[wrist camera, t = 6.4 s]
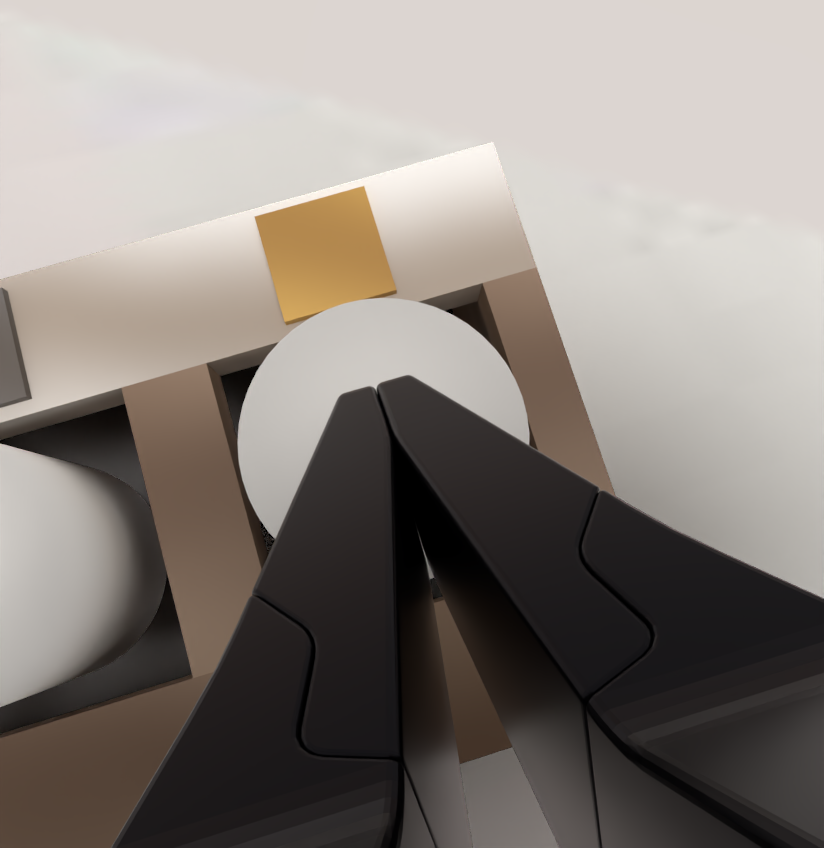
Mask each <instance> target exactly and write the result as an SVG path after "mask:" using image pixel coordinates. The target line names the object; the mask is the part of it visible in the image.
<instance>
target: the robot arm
mask: <svg viewBox="0 0 824 848" xmlns="http://www.w3.org/2000/svg"><path fill="white" fill-rule="evenodd" d="M376 389H377V391H376ZM376 389H375V388H374V387H371V386H367V387H363V388H360V389H356V390H353V391H349V392H346V393H343V394H341V395H340V396H339V397H338V399H337V401H336V403H335V406H334V408H333V410H332V412H331V415H330V417H329V419H328V421H327V424H326V426H325V428H324V430H323V433H322V435H321V437H320V439H319V442H318V444H317V446H316V448H315V451H314V453H313V455H312V457H311V460H310V462H309V464H308V466H307V469H306V471H305V473H304V475H303V478H302V480H301V482H300V484H299V487H298V489H297V491H296V493H295V496H294V498H293V500H292V502H291V505H290V507H289V509H288V511H287V514H286V516H285V518H284V520H283V523H282V525H281V527H280V529H279V532H278V534H277V536H276V538H275V541H274V543H273V545H272V547H271V550H270V552H269V554H268V556H267V559H266V561H265V563H264V565H263V568H262V570H261V572H260V574H259V577H258V579H257V581H256V583H255V586H254V588H253V590H252V596H250V597H249V598H248V600H247V603H246V605H245V607H244V610H243V612H242V614H241V616H240V619H239V621H238V623H237V625H236V627H235V629H234V631H233V634H232V636H231V638H230V640H229V642H228V644H227V646H226V648H225V650H224V652H223V654H222V656H221V658H220V660H219V662H218V664H217V667H216V669H215V670H214V672H213V674H212V676H211V677H210V679H209V681H208V683H207V685H206V686H205V688H204V690H203V692H202V694H201V695H200V697H199V699H198V701H197V702H196V704H195V706H194V708H193V710H192V711H191V713H190V715H189V717H188V719H187V720H186V722H185V724H184V725H183V727H182V729H181V730H180V732H179V734H178V735H177V737H176V739H175V740H174V742H173V744H172V745H171V747H170V749H169V751H168V752H167V754H166V756H165V757H164V759H163V761H162V762H161V764H160V766H159V767H158V769H157V771H156V772H155V774H154V776H153V777H152V779H151V781H150V782H149V784H148V786H147V787H146V789H145V791H144V793H143V794H142V796H141V798H140V799H139V801H138V803H137V804H136V806H135V808H134V809H133V811H132V813H131V814H130V816H129V818H128V819H127V821H126V823H125V824H124V826H123V828H122V829H121V831H120V833H119V835H118V836H117V838H116V840H115V841H114V843H113V845H112V846H111V848H473V844H472V838H471V832H470V825H469V819H468V813H467V807H466V800H465V794H464V788H463V782H462V775H461V769H460V763H459V757H458V751H457V744H456V738H455V732H454V726H453V719H452V713H451V707H450V701H449V695H448V688H447V682H446V676H445V670H444V663H443V657H442V651H441V645H440V639H439V632H438V626H437V620H436V614H435V607H434V601H433V595H432V589H431V583H430V578H429V572H428V567H427V563H426V559H425V556H424V552H425V555H426V558H427V561H428V564H429V566H430V569H431V571H432V573H433V576H434V578H435V580H436V583H437V585H438V587H439V589H440V591H441V594H442V596H443V598H444V600H445V602H446V604H447V606H448V609H449V611H450V613H451V615H452V617H453V619H454V622H455V624H456V626H457V628H458V630H459V632H460V634H461V637H462V639H463V641H464V643H465V645H466V647H467V650H468V652H469V654H470V656H471V658H472V660H473V662H474V665H475V667H476V669H477V671H478V673H479V675H480V678H481V680H482V682H483V684H484V686H485V688H486V690H487V693H488V695H489V697H490V699H491V701H492V703H493V706H494V708H495V710H496V712H497V714H498V716H499V718H500V721H501V723H502V725H503V727H504V729H505V731H506V734H507V736H508V738H509V740H510V742H511V744H512V746H513V749H514V751H515V753H516V755H517V757H518V759H519V762H520V764H521V766H522V768H523V770H524V772H525V774H526V777H527V779H528V781H529V783H530V785H531V787H532V790H533V792H534V794H535V796H536V798H537V800H538V802H539V805H540V807H541V809H542V811H543V813H544V815H545V818H546V820H547V822H548V824H549V826H550V828H551V830H552V833H553V835H554V837H555V839H556V841H557V843H558V846H559V848H824V598H822V597H819V596H817V595H815V594H813V593H811V592H808V591H806V590H804V589H802V588H800V587H797V586H795V585H793V584H791V583H789V582H786V581H784V580H782V579H780V578H778V577H775V576H773V575H771V574H769V573H766V572H764V571H762V570H760V569H758V568H755V567H753V566H751V565H749V564H747V563H744V562H742V561H740V560H738V559H736V558H733V557H731V556H729V555H727V554H725V553H722V552H720V551H718V550H716V549H714V548H712V547H710V546H708V545H706V544H704V543H702V542H700V541H698V540H696V539H693V538H691V537H689V536H687V535H685V534H683V533H681V532H679V531H677V530H675V529H673V528H671V527H669V526H667V525H666V524H664V523H662V522H660V521H658V520H656V519H655V518H653V517H651V516H649V515H647V514H646V513H644V512H642V511H640V510H638V509H637V508H635V507H633V506H631V505H629V504H628V503H626V502H624V501H623V500H621V499H619V498H618V497H616V496H614V495H613V494H611V493H609V492H608V491H606V490H601V491H600V488H599V487H598V486H597V485H595V484H593V483H592V482H590V481H588V480H587V479H585V478H583V477H582V476H580V475H578V474H577V473H575V472H573V471H572V470H570V469H568V468H567V467H565V466H563V465H562V464H560V463H558V462H556V461H555V460H553V459H551V458H550V457H548V456H546V455H545V454H543V453H541V452H540V451H538V450H536V449H535V448H533V447H531V446H530V445H528V444H526V443H525V442H523V441H521V440H519V439H518V438H516V437H514V436H513V435H511V434H509V433H508V432H506V431H504V430H503V429H501V428H499V427H498V426H496V425H494V424H493V423H491V422H489V421H488V420H486V419H484V418H482V417H481V416H479V415H477V414H476V413H474V412H472V411H471V410H469V409H467V408H466V407H464V406H462V405H461V404H459V403H457V402H456V401H454V400H452V399H451V398H449V397H447V396H445V395H444V394H442V393H440V392H439V391H437V390H435V389H434V388H432V387H430V386H429V385H427V384H425V383H424V382H422V381H420V380H419V379H417V378H415V377H414V376H411V375H404V376H401V377H397V378H394V379H391V380H387V381H384V382H381V383H379V384H378V385H377V388H376ZM418 533H419V534H418ZM420 540H421V541H420ZM421 543H422V544H421ZM422 546H423V548H422ZM423 549H424V552H423Z"/></svg>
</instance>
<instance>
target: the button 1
mask: <svg viewBox="0 0 824 848" xmlns="http://www.w3.org/2000/svg"><path fill="white" fill-rule="evenodd" d="M404 375H411V376H414V377H415V378H417V379H419V380H420V381H422V382H424V383H425V384H427V385H429V386H430V387H432V388H434V389H435V390H437V391H439V392H440V393H442V394H444V395H445V396H447V397H449V398H451V399H452V400H454V401H456V402H457V403H459V404H461V405H462V406H464V407H466V408H467V409H469V410H471V411H472V412H474V413H476V414H477V415H479V416H481V417H482V418H484V419H486V420H488V421H489V422H491V423H493V424H494V425H496V426H498V427H499V428H501V429H503V430H504V431H506V432H508V433H509V434H511V435H513V436H514V437H516V438H518V439H519V440H521V441H523V442H525V443H526V444H528V445H529V426H528V418H527V413H526V409H525V405H524V401H523V397H522V395H521V392H520V390H519V387H518V385H517V382H516V380H515V378H514V376H513V374H512V373H511V371H510V369H509V367H508V366H507V364H506V362H505V361H504V360H503V358H502V357H501V356H500V354H499V353H498V352H497V350H496V349H495V348H494V347H493V346H492V345H491V344H490V343H489V342H488V341H487V340H486V339H485V338H484V337H483V336H482V335H481V334H480V333H479V332H477V331H476V330H475V329H474V328H472V327H471V326H470V325H469V324H467V323H466V322H464V321H462V320H461V319H459V318H457V317H456V316H454V315H452V314H450V313H448V312H446V311H443V310H441V309H439V308H436V307H434V306H431V305H427V304H424V303H420V302H417V301H411V300H404V299H397V298H374V299H363V300H358V301H353V302H349V303H344V304H341V305H338V306H335V307H333V308H330V309H327V310H325V311H323V312H321V313H319V314H317V315H315V316H313V317H311V318H309V319H308V320H306V321H305V322H303V323H302V324H300V325H299V326H297V327H296V328H294V329H293V330H292V331H291V332H290V333H289V334H287V335H286V336H285V337H284V338H283V339H282V340H281V341H280V342H279V343H278V344H277V345H276V346H275V347H274V348H273V350H272V351H271V352H270V353H269V354H268V355H267V357H266V358H265V360H264V361H263V363H262V364H261V366H260V367H259V369H258V370H257V372H256V374H255V376H254V378H253V380H252V382H251V384H250V386H249V388H248V391H247V394H246V397H245V400H244V403H243V406H242V411H241V416H240V420H239V428H238V459H239V466H240V471H241V476H242V481H243V483H244V486H245V489H246V492H247V495H248V498H249V500H250V502H251V504H252V506H253V508H254V510H255V512H256V514H257V516H258V517H259V519H260V520H261V522H262V523H263V525H264V526H265V528H266V529H267V531H268V532H269V533H270V534H271V535H272V536H273V538H274V539H275V538H276V536H277V534H278V532H279V529H280V527H281V525H282V523H283V520H284V518H285V516H286V514H287V511H288V509H289V507H290V505H291V502H292V500H293V498H294V496H295V493H296V491H297V489H298V487H299V484H300V482H301V480H302V478H303V475H304V473H305V471H306V469H307V466H308V464H309V462H310V460H311V457H312V455H313V453H314V451H315V448H316V446H317V444H318V442H319V439H320V437H321V435H322V433H323V430H324V428H325V426H326V424H327V421H328V419H329V417H330V415H331V412H332V410H333V408H334V406H335V403H336V401H337V399H338V397H339V396H340V395H341V394H343V393H346V392H349V391H353V390H356V389H360V388H363V387H367V386H371V387H374V388H375V389H376V388H377V385H378V384H379V383H381V382H384V381H387V380H391V379H394V378H397V377H401V376H404ZM376 391H377V389H376ZM418 534H419V533H418ZM420 541H421V540H420ZM421 544H422V543H421ZM422 548H423V546H422ZM423 552H424V549H423ZM424 556H425V559H426V563H427V567H428V572H429V578H430V579H431V578H434V576H433V573H432V571H431V569H430V566H429V564H428V561H427V558H426V555H425V552H424Z"/></svg>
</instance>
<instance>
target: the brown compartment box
mask: <svg viewBox="0 0 824 848" xmlns="http://www.w3.org/2000/svg"><path fill="white" fill-rule="evenodd" d="M374 298H397V299H404V300H411V301H417V302H420V303H424V304H427V305H431V306H434V307H436V308H439V309H441V310H443V311H446V310H449V309H452V310H453V313H454V316H456V317H457V318H459V319H461V320H462V321H464V322H466V323H467V324H469V325H470V326H471V327H472V328H474V329H475V330H476V331H477V332H479V333H480V334H481V335H482V336H483V337H484V338H485V339H486V340H487V341H488V342H489V343H490V344H491V345H492V346H493V347H494V348H495V349H496V350H497V352H498V353H499V354H500V356H501V357H502V358H503V360H504V361H505V362H506V364H507V366H508V367H509V369H510V371H511V373H512V374H513V376H514V378H515V380H516V382H517V385H518V387H519V390H520V392H521V395H522V397H523V401H524V405H525V409H526V413H527V418H528V426H529V445H530V446H531V447H533V448H535V449H536V450H538V451H540V452H541V453H543V454H545V455H546V456H548V457H550V458H551V459H553V460H555V461H556V462H558V463H560V464H562V465H563V466H565V467H567V468H568V469H570V470H572V471H573V472H575V473H577V474H578V475H580V476H582V477H583V478H585V479H587V480H588V481H590V482H592V483H593V484H595V485H597V486H598V487H599V488H600V491H601V490H606V491H608V492H609V493H611V494H613V495H614V496H615V493H614V490H613V487H612V485H611V482H610V479H609V476H608V473H607V470H606V467H605V464H604V461H603V458H602V456H601V453H600V450H599V447H598V444H597V441H596V438H595V435H594V432H593V429H592V427H591V424H590V421H589V418H588V415H587V412H586V409H585V406H584V403H583V401H582V398H581V395H580V392H579V389H578V386H577V383H576V380H575V377H574V374H573V372H572V369H571V366H570V363H569V360H568V357H567V354H566V351H565V348H564V346H563V343H562V340H561V337H560V334H559V331H558V328H557V325H556V322H555V319H554V317H553V314H552V311H551V308H550V305H549V302H548V299H547V296H546V293H545V290H544V288H543V285H542V282H541V279H540V276H539V273H538V270H537V267H536V264H535V262H534V259H533V256H532V253H531V250H530V247H529V244H528V241H527V238H526V235H525V233H524V230H523V227H522V224H521V221H520V218H519V215H518V212H517V209H516V206H515V204H514V201H513V198H512V195H511V192H510V189H509V186H508V183H507V180H506V178H505V175H504V172H503V169H502V166H501V163H500V160H499V157H498V154H497V151H496V149H495V146H494V143H493V142H490V143H486V144H483V145H479V146H476V147H472V148H468V149H465V150H461V151H458V152H454V153H451V154H447V155H443V156H440V157H436V158H433V159H429V160H426V161H422V162H418V163H415V164H411V165H408V166H404V167H400V168H397V169H393V170H390V171H386V172H383V173H379V174H375V175H372V176H368V177H365V178H361V179H358V180H354V181H350V182H347V183H343V184H340V185H336V186H333V187H329V188H325V189H322V190H318V191H315V192H311V193H308V194H304V195H300V196H297V197H293V198H290V199H286V200H283V201H279V202H275V203H272V204H268V205H265V206H261V207H258V208H254V209H250V210H247V211H243V212H240V213H236V214H233V215H229V216H225V217H222V218H218V219H215V220H211V221H208V222H204V223H200V224H197V225H193V226H190V227H186V228H183V229H179V230H175V231H172V232H168V233H165V234H161V235H158V236H154V237H150V238H147V239H143V240H140V241H136V242H133V243H129V244H125V245H122V246H118V247H115V248H111V249H108V250H104V251H100V252H97V253H93V254H90V255H86V256H83V257H79V258H75V259H72V260H68V261H65V262H61V263H58V264H54V265H50V266H47V267H43V268H40V269H36V270H32V271H29V272H25V273H22V274H18V275H15V276H11V277H7V278H4V279H0V440H2V439H6V438H9V437H13V436H16V435H19V434H23V433H26V432H30V431H33V430H37V429H40V428H44V427H47V426H50V425H54V424H57V423H61V422H64V421H68V420H71V419H74V418H78V417H81V416H85V415H88V414H92V413H95V412H99V411H102V410H105V409H109V408H112V407H116V406H119V405H123V404H125V405H126V409H127V413H128V417H129V421H130V425H131V429H132V433H133V437H134V441H135V445H136V449H137V453H138V457H139V461H140V465H141V470H142V474H143V478H144V482H145V486H146V490H147V494H148V498H149V502H150V506H151V510H152V514H153V518H154V522H155V526H156V530H157V534H158V538H159V542H160V546H161V550H162V554H163V559H164V563H165V567H166V571H167V575H168V579H169V583H170V587H171V591H172V595H173V599H174V603H175V607H176V611H177V615H178V619H179V623H180V627H181V631H182V635H183V639H184V643H185V648H186V652H187V656H188V660H189V664H190V668H191V672H192V674H191V675H188V676H185V677H181V678H178V679H175V680H172V681H169V682H165V683H162V684H159V685H156V686H152V687H149V688H146V689H143V690H140V691H136V692H133V693H130V694H127V695H124V696H120V697H117V698H114V699H111V700H107V701H104V702H101V703H98V704H95V705H91V706H88V707H85V708H82V709H79V710H75V711H72V712H69V713H66V714H62V715H59V716H56V717H53V718H50V719H46V720H43V721H40V722H37V723H34V724H30V725H27V726H24V727H21V728H17V729H14V730H11V731H8V732H5V733H1V734H0V848H111V846H112V845H113V843H114V841H115V840H116V838H117V836H118V835H119V833H120V831H121V829H122V828H123V826H124V824H125V823H126V821H127V819H128V818H129V816H130V814H131V813H132V811H133V809H134V808H135V806H136V804H137V803H138V801H139V799H140V798H141V796H142V794H143V793H144V791H145V789H146V787H147V786H148V784H149V782H150V781H151V779H152V777H153V776H154V774H155V772H156V771H157V769H158V767H159V766H160V764H161V762H162V761H163V759H164V757H165V756H166V754H167V752H168V751H169V749H170V747H171V745H172V744H173V742H174V740H175V739H176V737H177V735H178V734H179V732H180V730H181V729H182V727H183V725H184V724H185V722H186V720H187V719H188V717H189V715H190V713H191V711H192V710H193V708H194V706H195V704H196V702H197V701H198V699H199V697H200V695H201V694H202V692H203V690H204V688H205V686H206V685H207V683H208V681H209V679H210V677H211V676H212V674H213V672H214V670H215V669H216V667H217V664H218V662H219V660H220V658H221V656H222V654H223V652H224V650H225V648H226V646H227V644H228V642H229V640H230V638H231V636H232V634H233V631H234V629H235V627H236V625H237V623H238V621H239V619H240V616H241V614H242V612H243V610H244V607H245V605H246V603H247V600H248V598H249V597H250V596H252V590H253V588H254V586H255V583H256V581H257V579H258V577H259V574H260V572H261V570H262V568H263V565H264V563H265V561H266V559H267V556H268V552H267V548H266V544H265V541H264V537H263V533H262V529H261V526H260V522H259V518H258V516H257V514H256V512H255V510H254V508H253V506H252V504H251V502H250V500H249V498H248V495H247V492H246V489H245V486H244V483H243V481H242V476H241V471H240V466H239V459H238V440H237V437H236V433H235V429H234V425H233V422H232V418H231V414H230V411H229V407H228V403H227V399H226V396H225V392H224V388H223V385H222V381H221V377H220V376H222V375H226V374H229V373H233V372H236V371H239V370H243V369H246V368H250V367H253V366H257V365H260V364H262V363H263V361H264V360H265V358H266V357H267V355H268V354H269V353H270V352H271V351H272V350H273V348H274V347H275V346H276V345H277V344H278V343H279V342H280V341H281V340H282V339H283V338H284V337H285V336H286V335H287V334H289V333H290V332H291V331H292V330H293V329H294V328H296V327H297V326H299V325H300V324H302V323H303V322H305V321H306V320H308V319H309V318H311V317H313V316H315V315H317V314H319V313H321V312H323V311H325V310H327V309H330V308H333V307H335V306H338V305H341V304H344V303H349V302H353V301H358V300H363V299H374ZM433 601H434V607H435V614H436V620H437V626H438V632H439V639H440V645H441V651H442V657H443V663H444V670H445V676H446V682H447V688H448V695H449V701H450V707H451V713H452V719H453V726H454V732H455V738H456V744H457V751H458V757H459V763H460V764H461V763H464V762H467V761H471V760H474V759H477V758H480V757H483V756H486V755H489V754H492V753H495V752H498V751H501V750H505V749H508V748H511V747H513V746H512V744H511V742H510V740H509V738H508V736H507V734H506V731H505V729H504V727H503V725H502V723H501V721H500V718H499V716H498V714H497V712H496V710H495V708H494V706H493V703H492V701H491V699H490V697H489V695H488V693H487V690H486V688H485V686H484V684H483V682H482V680H481V678H480V675H479V673H478V671H477V669H476V667H475V665H474V662H473V660H472V658H471V656H470V654H469V652H468V650H467V647H466V645H465V643H464V641H463V639H462V637H461V634H460V632H459V630H458V628H457V626H456V624H455V622H454V619H453V617H452V615H451V613H450V611H449V609H448V606H447V604H446V602H445V600H444V598H443V596H442V597H438V598H435V599H433Z"/></svg>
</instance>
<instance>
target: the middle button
mask: <svg viewBox="0 0 824 848" xmlns="http://www.w3.org/2000/svg"><path fill="white" fill-rule="evenodd" d="M166 577H167V571H166V567H165V563H164V559H163V554H162V550H161V546H160V542H159V538H158V534H157V530H156V526H155V522H154V518H153V514H152V510H151V508H150V507H149V505H148V504H147V503H146V501H145V500H144V499H143V498H142V497H141V496H140V495H139V493H137V492H136V491H135V490H134V489H133V488H132V487H130V486H129V485H128V484H126V483H125V482H123V481H122V480H120V479H119V478H117V477H115V476H113V475H111V474H108V473H106V472H104V471H100V470H97V469H94V468H90V467H86V466H83V465H79V464H75V463H71V462H68V461H64V460H60V459H56V458H53V457H49V456H45V455H41V454H38V453H34V452H30V451H26V450H23V449H19V448H15V447H11V446H7V445H4V444H0V707H2V706H5V705H7V704H10V703H13V702H15V701H18V700H21V699H23V698H26V697H28V696H31V695H34V694H36V693H39V692H42V691H44V690H47V689H49V688H52V687H55V686H57V685H60V684H63V683H65V682H68V681H70V680H73V679H76V678H78V677H81V676H84V675H86V674H89V673H91V672H94V671H97V670H99V669H101V668H103V667H105V666H107V665H109V664H110V663H112V662H114V661H115V660H116V659H118V658H119V657H121V656H122V655H123V654H125V653H126V652H127V651H128V650H129V649H130V648H131V647H132V646H133V645H134V644H135V643H136V642H137V641H138V640H139V639H140V637H141V636H142V635H143V634H144V633H145V631H146V630H147V628H148V627H149V625H150V623H151V622H152V620H153V618H154V616H155V614H156V612H157V610H158V608H159V605H160V602H161V599H162V597H163V593H164V589H165V584H166Z"/></svg>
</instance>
